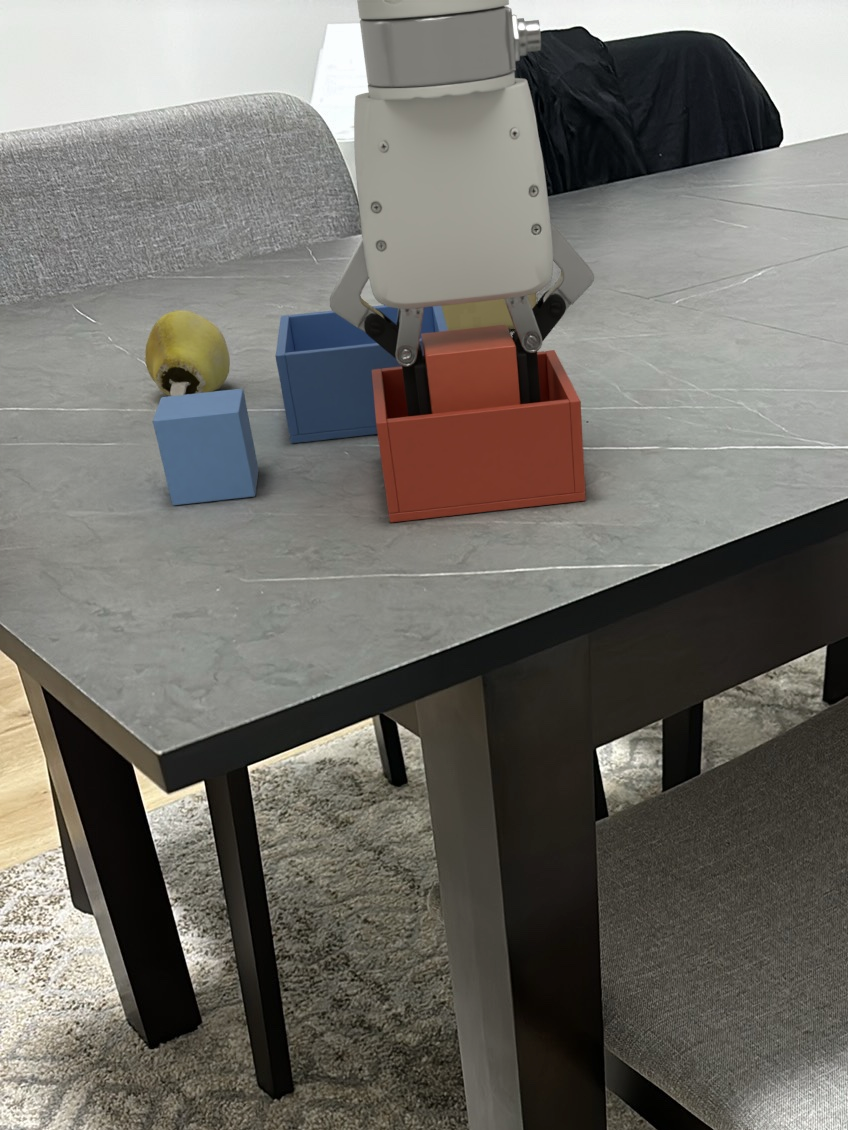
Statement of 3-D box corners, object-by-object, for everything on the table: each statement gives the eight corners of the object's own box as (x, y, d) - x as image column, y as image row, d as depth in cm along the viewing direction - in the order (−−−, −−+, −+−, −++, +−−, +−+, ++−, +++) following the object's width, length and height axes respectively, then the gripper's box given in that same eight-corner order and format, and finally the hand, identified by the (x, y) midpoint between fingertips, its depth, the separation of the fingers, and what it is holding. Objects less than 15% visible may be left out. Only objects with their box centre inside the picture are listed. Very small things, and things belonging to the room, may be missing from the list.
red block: (436, 447, 79) (425, 355, 76) (431, 422, 83) (420, 333, 80) (523, 437, 79) (515, 345, 76) (514, 413, 83) (506, 323, 80)
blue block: (172, 506, 83) (152, 420, 80) (179, 479, 87) (160, 396, 84) (255, 496, 84) (238, 411, 80) (259, 470, 87) (243, 388, 84)
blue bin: (290, 443, 91) (275, 355, 88) (294, 397, 100) (280, 315, 97) (459, 425, 92) (450, 337, 89) (448, 380, 101) (439, 299, 98)
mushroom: (138, 423, 98) (146, 366, 105) (225, 438, 100) (227, 381, 106) (142, 341, 94) (150, 287, 101) (232, 358, 96) (234, 304, 103)
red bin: (389, 522, 78) (376, 423, 75) (384, 461, 87) (371, 369, 84) (586, 500, 79) (580, 400, 76) (560, 441, 88) (554, 349, 84)
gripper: (594, 35, 73) (609, 392, 85) (273, 67, 73) (330, 423, 84) (617, 46, 68) (630, 428, 79) (267, 80, 67) (330, 462, 78)
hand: (475, 422), depth 81 cm, fingers closed on red block, 5 cm apart
